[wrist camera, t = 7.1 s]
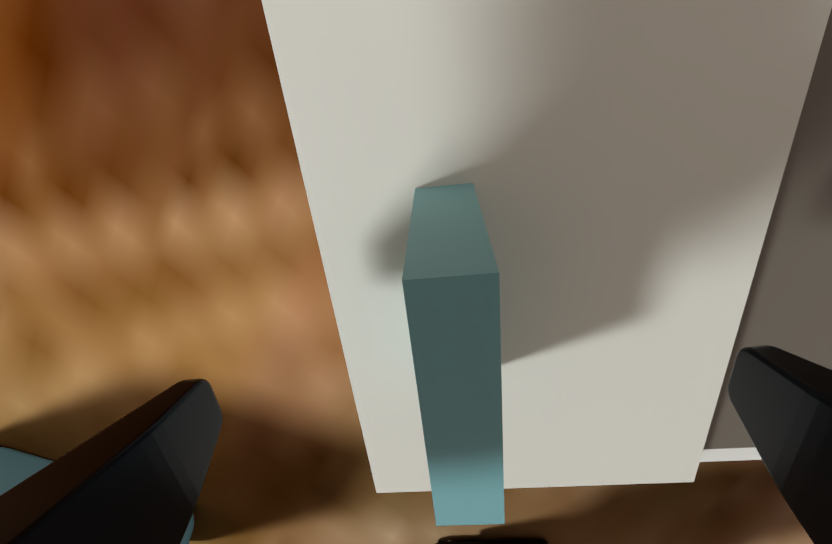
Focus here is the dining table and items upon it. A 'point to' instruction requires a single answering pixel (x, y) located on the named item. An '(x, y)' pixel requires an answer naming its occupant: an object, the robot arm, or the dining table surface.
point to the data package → (13, 467)
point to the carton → (790, 262)
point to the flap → (540, 223)
